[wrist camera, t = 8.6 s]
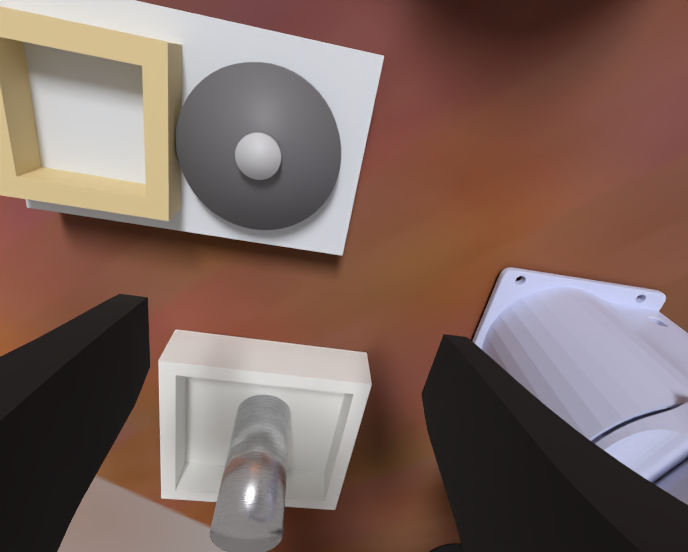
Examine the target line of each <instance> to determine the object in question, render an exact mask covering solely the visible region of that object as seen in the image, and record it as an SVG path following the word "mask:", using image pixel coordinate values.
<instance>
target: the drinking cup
mask: <svg viewBox="0 0 688 552" xmlns="http://www.w3.org/2000/svg"><path fill="white" fill-rule="evenodd" d="M430 552H463V549H462V545H461V544H450V545H444V546H441V547H438V548H436V549H434V550H432V551H430Z"/></svg>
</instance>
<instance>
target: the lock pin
mask: <svg viewBox="0 0 688 552" xmlns="http://www.w3.org/2000/svg"><path fill="white" fill-rule="evenodd" d="M290 421H291V411H290V408H289V407H288V405H287V404H286V403H285V402H284V401H283V400H281V399H280V398H277V397H275V396H271V395H255V396H252V397H249V398H247V399H245V400H244V401H243V402H242V403H241V404H240V405H239V407H238V409H237V413H236V418H235V422H234V427H233V431H232V436H231V440H230V445H229V449H228V454H227V458H226V463H225V467H224V471H223V476H222V480H221V485H220V489H219V494H218V498H217V503H216V507H215V512H214V516H213V521H212V525H211V530H210V537H211V540H212V541H213V543H214V544H215V545H216V546H217V547H219V548H220V549H222V550H224V551H227V552H266V551H269V550H271V549H272V548H274V547H275V546H277V545H278V544H279V543H280V541H281V539H282V536H283V524H284V509H285V495H286V480H287V465H288V450H289V435H290Z"/></svg>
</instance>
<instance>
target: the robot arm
mask: <svg viewBox="0 0 688 552" xmlns="http://www.w3.org/2000/svg"><path fill="white" fill-rule="evenodd" d="M519 276H522V278H521V279H520V280H519V281H516V279H517V277H519ZM638 296H639V297H638ZM637 297H638V298H637ZM636 298H637V299H636ZM665 300H666V296H665V295H664V294H663V293H662V292H660V291H658V290H652V289H646V288H639V287H633V286H627V285H620V284H614V283H608V282H601V281H595V280H589V279H582V278H576V277H570V276H563V275H557V274H551V273H544V272H538V271H532V270H525V269H519V268H513V267H510V268H506V269H504V270H503V271H502V272H501V273H500V275H499V278H498V280H497V282H496V285H495V287H494V290H493V292H492V294H491V297H490V299H489V302H488V304H487V307H486V309H485V311H484V314H483V316H482V319H481V321H480V324H479V326H478V328H477V331H476V333H475V336H474V338H473V340H472V341H471V340H469V339H468V338H467V337H461V336H453V335H445V334H444V335H443V338H442V340H441V343H440V346H439V348H438V351H437V354H436V356H435V359H434V362H433V364H432V367H431V370H430V372H429V375H428V378H427V381H426V383H425V386H424V389H423V391H422V400H423V407H424V414H425V419H426V424H427V430H428V434H429V437H430V441H431V444H432V447H433V450H434V454H435V457H436V460H437V464H438V467H439V470H440V473H441V476H442V480H443V483H444V486H445V489H446V492H447V496H448V499H449V502H450V505H451V508H452V512H453V515H454V518H455V521H456V525H457V529H458V533H459V536H460V540H461V545H462V549H463V552H688V333H687V332H685V331H684V330H683V329H681V328H680V327H679V326H677V325H676V324H675V323H673V322H672V321H671V320H669V319H668V318H667V317H665V316H664V315H663V314H661V313H660V312H659V310H660V309H661V307H662V305H663V304H664V302H665ZM149 368H150V349H149V321H148V297H140V296H132V295H124V294H119V295H117V296H115V297H112V298H110V299H109V300H107V301H105V302H103V303H101V304H99V305H97V306H96V307H94V308H92V309H90V310H88V311H87V312H85V313H83V314H81V315H79V316H78V317H76V318H74V319H72V320H70V321H69V322H67V323H65V324H63V325H61V326H59V327H58V328H56V329H54V330H52V331H50V332H48V333H46V334H45V335H43V336H41V337H39V338H37V339H35V340H33V341H31V342H29V343H27V344H25V345H23V346H21V347H19V348H17V349H15V350H13V351H11V352H9V353H7V354H5V355H3V356H1V357H0V552H57V551H58V549H59V547H60V544H61V542H62V540H63V537H64V535H65V533H66V531H67V528H68V526H69V524H70V522H71V520H72V518H73V516H74V514H75V512H76V510H77V508H78V506H79V504H80V502H81V500H82V498H83V497H84V495H85V493H86V491H87V490H88V488H89V486H90V484H91V482H92V481H93V479H94V477H95V475H96V474H97V472H98V470H99V468H100V466H101V465H102V463H103V461H104V459H105V458H106V456H107V454H108V452H109V450H110V449H111V447H112V445H113V443H114V442H115V440H116V438H117V436H118V434H119V433H120V431H121V429H122V427H123V425H124V424H125V422H126V420H127V418H128V416H129V415H130V413H131V411H132V409H133V407H134V405H135V403H136V401H137V398H138V396H139V393H140V391H141V389H142V386H143V383H144V381H145V378H146V376H147V373H148V371H149Z"/></svg>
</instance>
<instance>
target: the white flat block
mask: <svg viewBox="0 0 688 552" xmlns="http://www.w3.org/2000/svg"><path fill="white" fill-rule="evenodd" d="M383 59H384V56H382V55H378V54H373V53H369V52H364V51H360V50H355V49H351V48H346V47H342V46H337V45H333V44H328V43H324V42H319V41H315V40H310V39H306V38H301V37H297V36H292V35H288V34H283V33H279V32H274V31H270V30H265V29H261V28H257V27H252V26H248V25H243V24H239V23H234V22H230V21H225V20H221V19H216V18H212V17H207V16H203V15H198V14H194V13H189V12H185V11H180V10H176V9H171V8H167V7H162V6H158V5H153V4H149V3H144V2H140V1H135V0H0V195H3V196H10V197H16V198H23V199H26V204H27V207H28V208H34V209H41V210H47V211H54V212H60V213H67V214H73V215H80V216H86V217H93V218H100V219H106V220H113V221H119V222H126V223H132V224H139V225H145V226H152V227H158V228H165V229H172V230H178V231H185V232H191V233H198V234H204V235H211V236H217V237H224V238H230V239H237V240H243V241H250V242H257V243H263V244H270V245H276V246H283V247H289V248H296V249H302V250H309V251H315V252H322V253H329V254H335V255H343V250H344V245H345V241H346V236H347V231H348V226H349V221H350V217H351V212H352V207H353V202H354V198H355V193H356V188H357V183H358V178H359V174H360V169H361V164H362V159H363V155H364V150H365V145H366V140H367V135H368V131H369V126H370V121H371V116H372V111H373V107H374V102H375V97H376V92H377V88H378V83H379V78H380V73H381V68H382V64H383Z"/></svg>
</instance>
